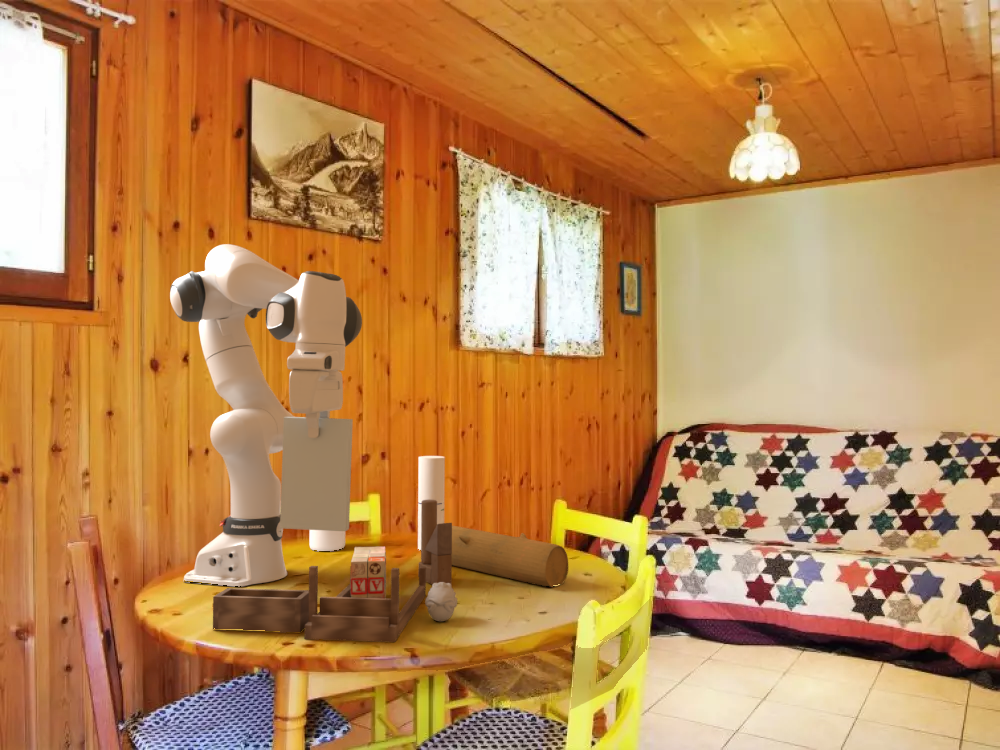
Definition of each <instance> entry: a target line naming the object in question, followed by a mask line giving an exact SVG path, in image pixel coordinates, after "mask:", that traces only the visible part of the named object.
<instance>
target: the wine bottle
mask: <svg viewBox="0 0 1000 750" xmlns="http://www.w3.org/2000/svg"><path fill="white" fill-rule="evenodd" d="M308 537H309V542H308V543H309V548H310V550H312V551H314V550H317V551H316V552H319V551H330V552H335V551H334V550H337V551H340V550H339V549H341V550H343V549H344V547H345V546H346V531H326V530H309V536H308ZM342 548H343V549H342Z"/></svg>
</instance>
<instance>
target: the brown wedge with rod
mask: <svg viewBox="0 0 1000 750" xmlns="http://www.w3.org/2000/svg"><path fill="white" fill-rule="evenodd" d="M452 526H453V523H452V522H444V523H442V524H437V501H436V500H423V501H422V513H421V551H420V552H421V554H420V561H419V562H418V569H419V568H420V567H426V583H428V584H431V586H432V585H433V584H434V583H439V582H445V583H450V584H451V585H452V570H453V569H452V567H453V565H452V555H451V554H452Z"/></svg>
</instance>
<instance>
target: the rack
mask: <svg viewBox="0 0 1000 750" xmlns="http://www.w3.org/2000/svg"><path fill="white" fill-rule="evenodd" d="M349 567H350V568H349V572H350V575H349V580H350V581H349V584H348V585H347V586H346V587H345V588H344V589H342V591H340V592H339V593H338V594H337V595H336V596H320V597H318V596H319V595H318V589H319V588H318V583H319V581H318V580H319V579H318V578H319V577H318V575H319V574H318V573H319V566H318V565H311V566H309V568H308V590H309V622H308V623H307V624H306V625H305V629H304V640H319V639H323V641H324V640H326V641H351V642H354V641H355V642H377V643H378V642H379V643H380V642H383V643H385V642H386V643H396V641H397V639H398V638H399V637H400V635H401V633H402V632H403V630H404V629H405V627H406V626H407V625H408V623H409V622H410V620H411V619H412V617H413V615H414V614H415V613H416V611H417V610H418V608H419V606H420V605H421V603H422V602H423V600H424V598H426V596H427V595H426V594H427V593H426V592H427V591H426V590H427V582H426V567H420V568H419V567H418V586H417V587H416V589H415V590H414V592H412V595H411V596H410V597H409V598H408V600H407V602H406V603H405V604H404V605H403V607H402V608H401V610H400V568H399V567H392V568H391V569H390V598H386V599H385V598H351V565H350V566H349ZM318 598H319V611H318Z"/></svg>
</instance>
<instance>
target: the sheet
mask: <svg viewBox="0 0 1000 750" xmlns="http://www.w3.org/2000/svg"><path fill="white" fill-rule="evenodd" d="M319 428H320V436H319V437H317V438H310V437H308V426H307V422H306V416H303V417H302V416H301V417H300V416H294V417H284V427H283V450H282V457H281V458H282V459H281V460H282V462H281V511H280V513H281V514H280V528H283V530H284V529H286V530H287V529H289V530H290V529H292V530H306V531H307V530H308V531H310V530H326V531H345V532H346V531H348V530H349V529H350V511H351V509H350V508H351V482H352V481H351V480H352V477H351V476H352V453H353V452H352V448H353V418H333V417H331V418H330V417H329V418H319Z"/></svg>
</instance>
